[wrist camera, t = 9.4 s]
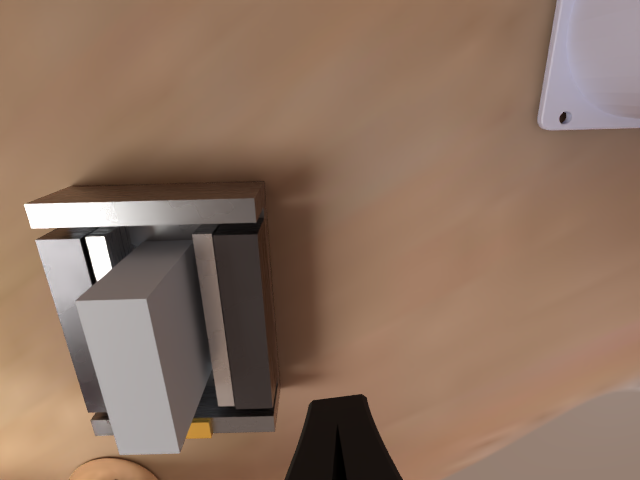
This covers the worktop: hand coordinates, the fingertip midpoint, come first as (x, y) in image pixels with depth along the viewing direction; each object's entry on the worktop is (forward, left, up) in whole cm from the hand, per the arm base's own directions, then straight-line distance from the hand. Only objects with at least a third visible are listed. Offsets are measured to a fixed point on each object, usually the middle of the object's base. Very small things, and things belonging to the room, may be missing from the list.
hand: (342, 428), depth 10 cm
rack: (+8, +2, -10) cm, 13 cm away
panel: (+8, +2, -10) cm, 12 cm away
